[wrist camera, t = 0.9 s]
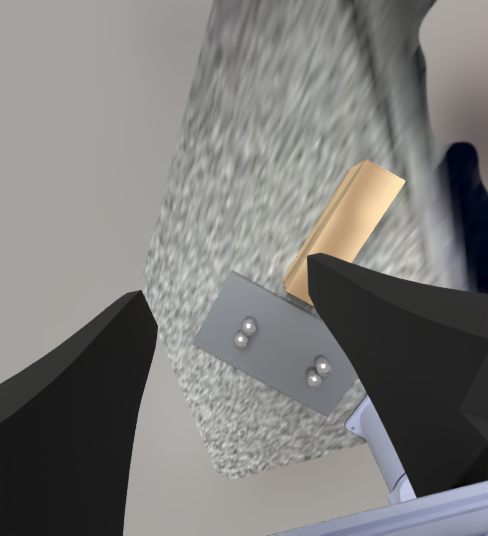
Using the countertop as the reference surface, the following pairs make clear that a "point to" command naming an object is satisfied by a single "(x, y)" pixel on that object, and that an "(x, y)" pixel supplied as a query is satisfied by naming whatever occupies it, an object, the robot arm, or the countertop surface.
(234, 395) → the countertop surface
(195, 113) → the countertop surface
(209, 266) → the countertop surface
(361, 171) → the board
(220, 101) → the countertop surface
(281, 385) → the flat gray rectangular plate
